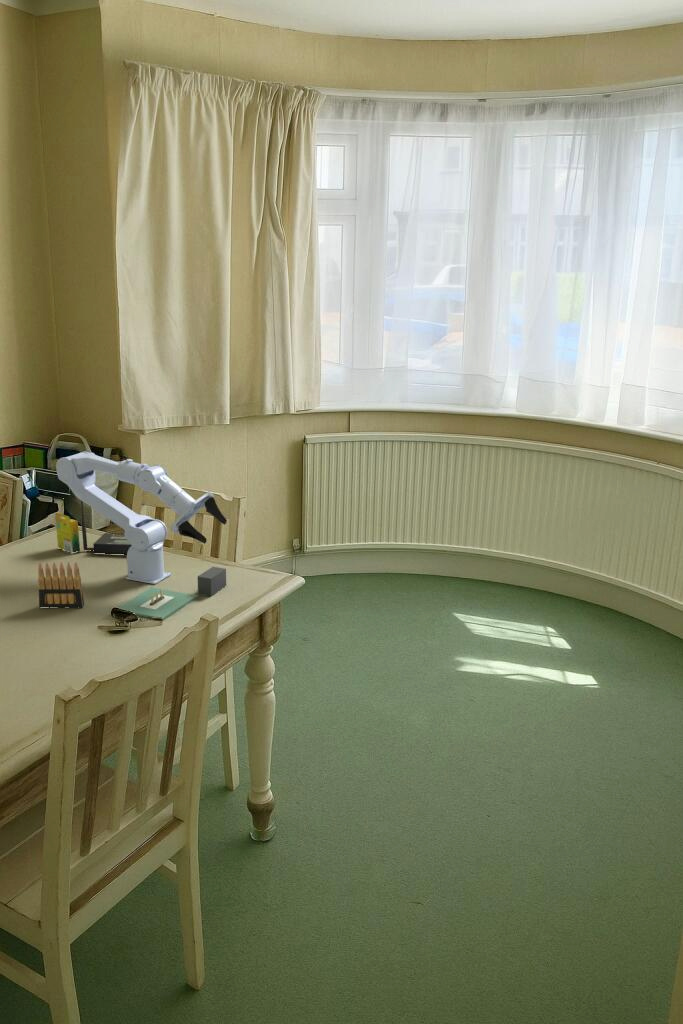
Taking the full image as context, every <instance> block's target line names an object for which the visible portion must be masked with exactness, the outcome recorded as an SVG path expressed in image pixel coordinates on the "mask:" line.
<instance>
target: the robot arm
mask: <svg viewBox="0 0 683 1024" xmlns="http://www.w3.org/2000/svg"><path fill="white" fill-rule="evenodd" d="M55 470H56V474H57V478H58V480H59V481H61V482H63V483H64V484H65V485H67V487H68V488H69V490H71V492H72V494H74V495H75V497H76V498H77V499H79V500H80V501H81V500H82V501H83V504H86V505H88V506H89V507H90V508H92V509H93V510H95V511H96V512H98V513H99V514H101V515H102V516H104V517H105V518H106V519H108V520H110V521H111V522H112V523H114V524H115V525H117V526H118V527H120V528H121V529H123V530H124V534H123V535H125V538H126V539H127V540H129V541H130V543H131V544H132V546H131V547H130V548H129V550H128V553H127V556H126V566H127V567H126V568H127V576H126V577H125V579H126V580H129V581H130V580H131V581H136V582H141V583H147V584H153V585H156V584H158V583H159V582H161V581H162V580H164V579H166V578H167V577H169V576H171V575H172V574H171V572H165V566H164V565H165V563H164V561H165V560H164V542H165V540H166V538H167V536H168V528H167V526H166V524H165V523H164V522H163V521H162V520H160V519H158V518H157V519H156V518H152V517H151V516H149V515H144V514H143V515H142V514H138V513H136V512H134V511H133V510H132V509H130V508H129V507H128V506H125V504H123V503H121V502H120V501H119V500H117V499H115V498H114V497H112V496H111V495H110V494H108V493H107V492H105V491H104V490H102V489H100V488H99V487H98V486H96V485H95V483H96V472H99V473H103V474H109V475H114V476H116V478H117V479H118V480H119V481H121V482H123V483H128V484H132V485H134V486H140V490H142V491H143V492H146V493H147V492H149V493H151V494H152V495H155V496H156V497H157V498H158V499H159V500H160V501H162V502H163V503H164V504H165V505H167V506H168V508H170V509H171V510H172V511H174V512H175V513H176V514H177V515H179V516H178V517H177V519H176V520H175V521H174V522H173V523H171V525H170V527H169V528H170V530H171V531H172V532H173V533H174V534H179V536H180V535H181V536H184V537H186V538H187V537H188V538H191V539H194V540H196V541H198V542H201V543H203V544H204V545H205V544H206V543H207V540H208V539H207V538H206V536H204V535H203V534H202V533H200V532H199V531H198V530H197V529H196V527H194V526H193V525H192V524H191V523H190V522H189V521H190V520H191V519H193V518H194V516H196V515H197V514H198V512H199V511H201V510H202V509H203V508H204V507H205V510H206V511H205V512H206V513H208V514H209V515H211V516H213V517H214V518H216V520H218V521H219V522H220V523H221V524H223V525H226V524H227V522H228V521H227V520H228V519H227V518H226V517H225V516H224V514H223V513H222V512H221V509H220V508H219V507H218V504H217V503H216V500H215V495H214V494H213V493H212V492H211V491H210V490H208V491H207V492H206V493H204V494H202V495H201V496H200V497H199V498H197V499H195V498H193V496H191V495H190V494H189V493H188V492H186V491H185V490H184V489H182V488H181V486H179V484H177V483H175V482H174V480H172V479H171V478H170V477H168V472H167V470H166V469H165V468H164V467H163V466H161V465H159V464H153V465H150V466H149V465H148V463H138V462H134V459H131V458H127V459H124V460H122V461H120V462H118V461H115V460H112V459H109V458H105V457H103V456H99V455H97V454H95V452H88V451H81V452H79V453H76V454H73V455H69V456H65V457H60V458H59V459H58V460H57V461H56V463H55Z"/></svg>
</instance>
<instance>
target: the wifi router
mask: <svg viewBox="0 0 683 1024" xmlns="http://www.w3.org/2000/svg"><path fill="white" fill-rule="evenodd" d="M80 509H81V533H82V534H81V535H82V545H83V546H82V547H83V551H84V550H91V551H90V552H93V554H94V553H105V554H124V555H127V553H128V550H129V548H130V547H131V546H132V544H131V543H130V541H129V540H127V539H126V538H125V535H124V534H123V533H121V534H120V533H118V534H117V533H115V534H114V533H113V532H104V533H103V534H102V535H101V536H100V537H99V538H98V539H97V540H95V542H94V543H92V544H93V547H88V536H87V527H86V518H85V517H86V516H85V513H84V512H85V511H84V502H83V501H82V500H80ZM93 550H94V551H93Z"/></svg>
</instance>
